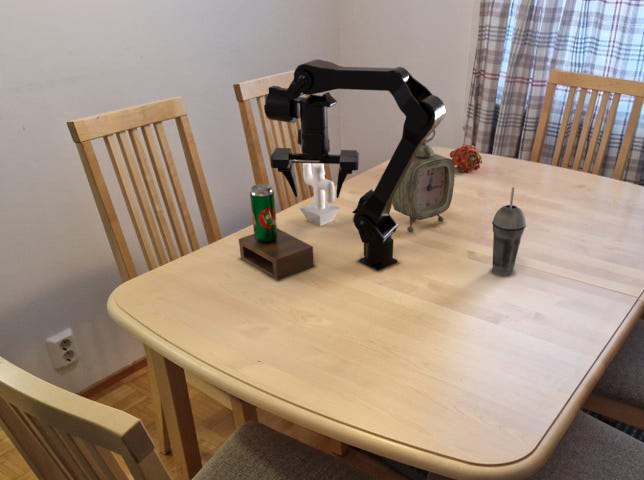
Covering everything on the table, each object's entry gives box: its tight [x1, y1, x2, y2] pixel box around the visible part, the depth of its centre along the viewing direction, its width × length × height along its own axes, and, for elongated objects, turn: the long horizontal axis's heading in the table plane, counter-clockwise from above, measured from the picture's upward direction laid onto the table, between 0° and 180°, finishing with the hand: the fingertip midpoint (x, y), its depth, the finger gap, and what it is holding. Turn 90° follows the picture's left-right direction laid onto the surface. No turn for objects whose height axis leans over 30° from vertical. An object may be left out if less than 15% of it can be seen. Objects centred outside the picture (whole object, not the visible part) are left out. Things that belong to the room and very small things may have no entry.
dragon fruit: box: [449, 144, 483, 173], centre depth 201 cm, size 8×8×12 cm
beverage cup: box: [491, 187, 527, 277], centre depth 141 cm, size 7×7×20 cm
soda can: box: [249, 183, 278, 243], centre depth 141 cm, size 5×5×12 cm
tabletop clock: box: [392, 129, 455, 234], centre depth 160 cm, size 14×9×25 cm, turn 131°
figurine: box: [299, 163, 341, 227], centre depth 162 cm, size 7×9×15 cm
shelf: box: [238, 227, 315, 281], centre depth 145 cm, size 14×10×5 cm
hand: (317, 197), depth 145 cm, fingers open, 9 cm apart
